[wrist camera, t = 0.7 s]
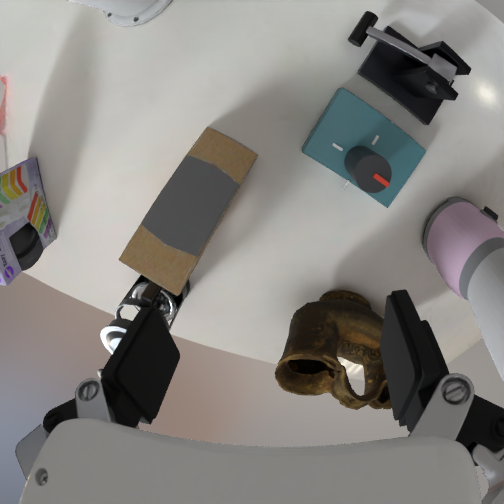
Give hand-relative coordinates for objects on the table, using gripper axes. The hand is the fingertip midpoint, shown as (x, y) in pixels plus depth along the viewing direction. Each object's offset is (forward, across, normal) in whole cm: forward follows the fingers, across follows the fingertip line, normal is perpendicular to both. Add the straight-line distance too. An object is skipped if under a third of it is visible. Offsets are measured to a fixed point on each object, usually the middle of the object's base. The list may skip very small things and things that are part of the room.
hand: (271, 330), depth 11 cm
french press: (+31, +24, +17) cm, 42 cm away
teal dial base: (+31, -11, -2) cm, 32 cm away
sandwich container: (+31, +12, +1) cm, 33 cm away
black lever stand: (+30, -19, -12) cm, 38 cm away
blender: (+31, -27, +11) cm, 43 cm away
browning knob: (+28, -10, 0) cm, 29 cm away
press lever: (+24, -16, -14) cm, 32 cm away
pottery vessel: (+31, -7, +27) cm, 42 cm away
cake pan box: (+30, +49, -4) cm, 57 cm away
